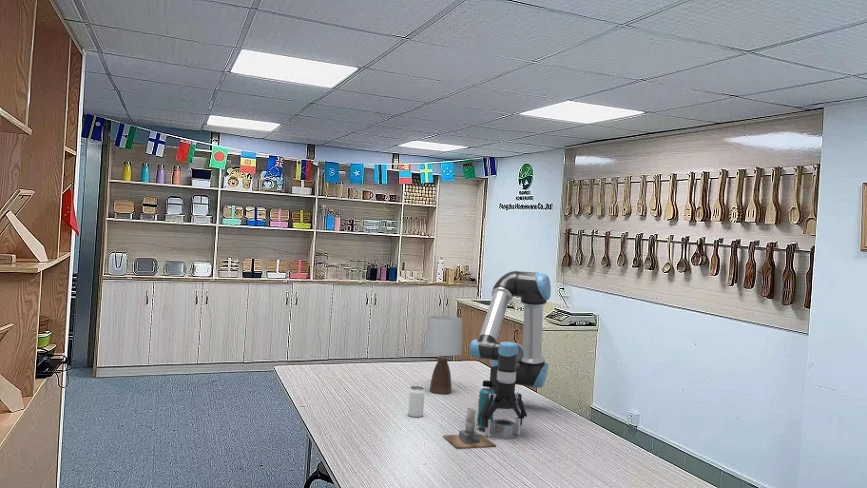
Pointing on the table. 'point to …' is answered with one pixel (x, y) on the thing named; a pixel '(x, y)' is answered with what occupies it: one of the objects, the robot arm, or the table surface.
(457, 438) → the peg on square base
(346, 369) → the table surface
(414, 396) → the can
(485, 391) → the beverage bottle
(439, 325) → the lamp
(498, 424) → the hub
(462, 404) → the table surface
